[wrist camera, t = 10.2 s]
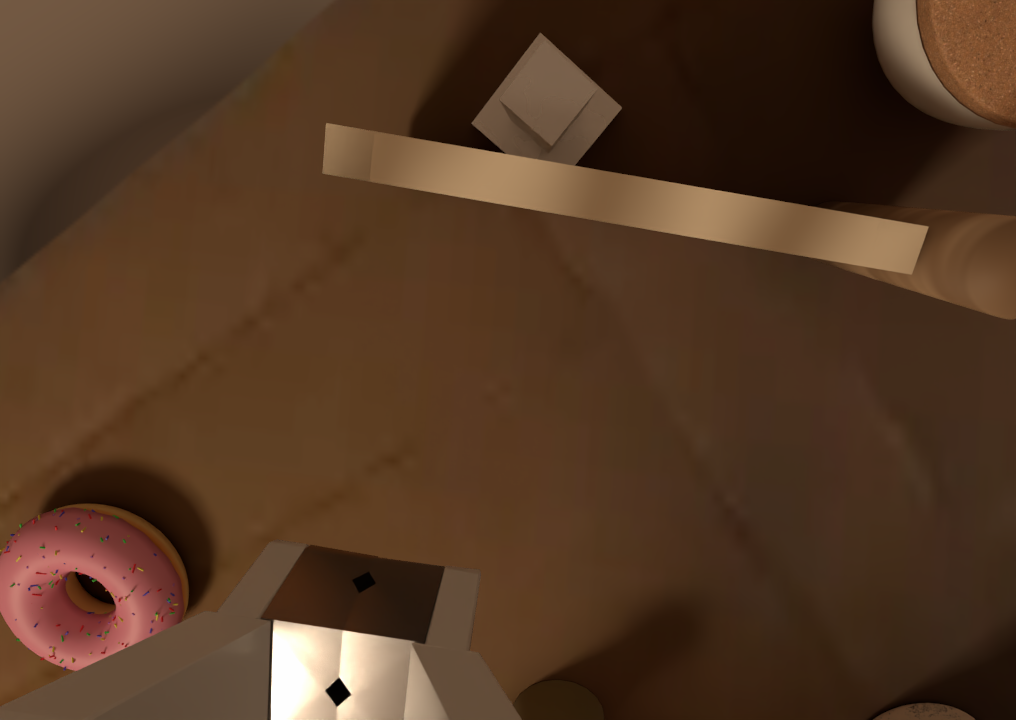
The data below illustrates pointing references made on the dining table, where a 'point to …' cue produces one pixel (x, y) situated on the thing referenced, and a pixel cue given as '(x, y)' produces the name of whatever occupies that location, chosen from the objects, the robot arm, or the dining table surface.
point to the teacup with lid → (924, 713)
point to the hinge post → (951, 256)
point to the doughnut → (108, 559)
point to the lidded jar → (951, 58)
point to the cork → (558, 702)
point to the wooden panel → (622, 199)
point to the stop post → (546, 108)
